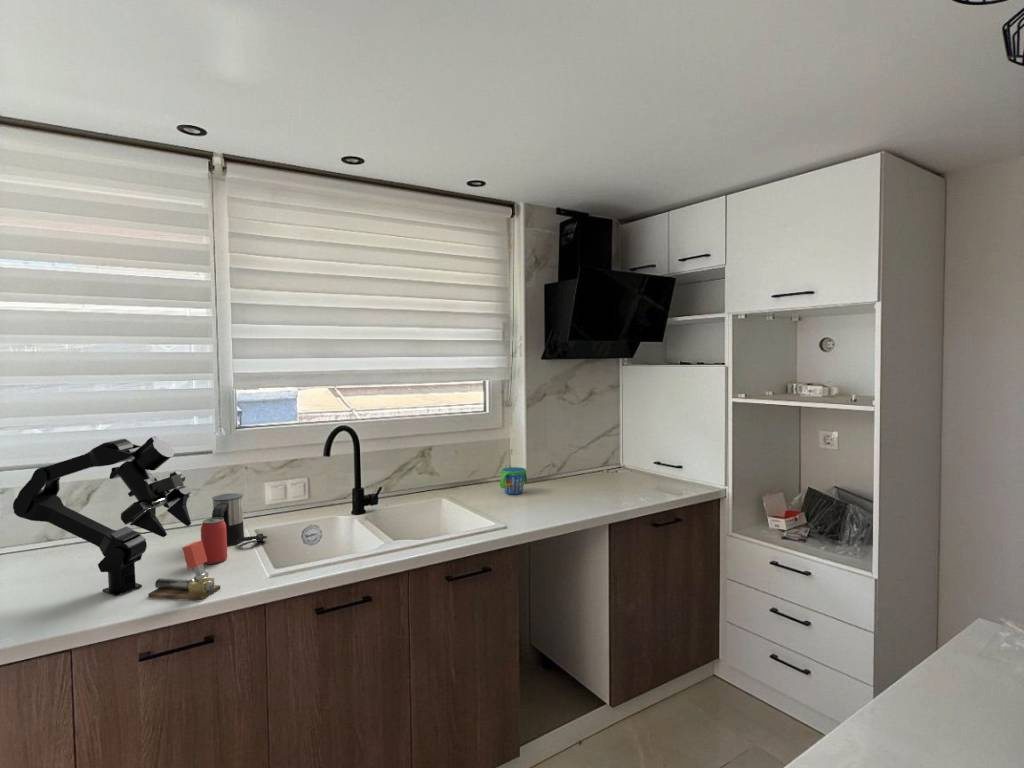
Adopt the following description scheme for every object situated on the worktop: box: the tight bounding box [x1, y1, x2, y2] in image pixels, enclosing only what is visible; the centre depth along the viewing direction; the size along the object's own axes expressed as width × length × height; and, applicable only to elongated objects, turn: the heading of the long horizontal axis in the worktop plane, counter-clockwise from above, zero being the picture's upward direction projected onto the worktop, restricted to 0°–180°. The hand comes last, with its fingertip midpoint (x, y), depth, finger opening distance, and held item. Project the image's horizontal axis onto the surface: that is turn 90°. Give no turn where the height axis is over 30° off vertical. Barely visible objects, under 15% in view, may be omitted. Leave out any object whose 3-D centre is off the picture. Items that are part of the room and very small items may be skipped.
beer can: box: [200, 517, 228, 565], centre depth 166 cm, size 7×7×12 cm
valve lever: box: [181, 539, 209, 582], centre depth 143 cm, size 2×4×9 cm, turn 171°
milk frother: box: [211, 492, 268, 546], centre depth 182 cm, size 14×16×15 cm
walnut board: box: [147, 584, 221, 601], centre depth 144 cm, size 14×7×1 cm, turn 81°
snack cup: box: [499, 466, 528, 496], centre depth 243 cm, size 16×10×10 cm
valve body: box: [154, 577, 215, 594], centre depth 144 cm, size 14×4×3 cm, turn 81°
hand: (177, 530), depth 145 cm, fingers open, 9 cm apart
